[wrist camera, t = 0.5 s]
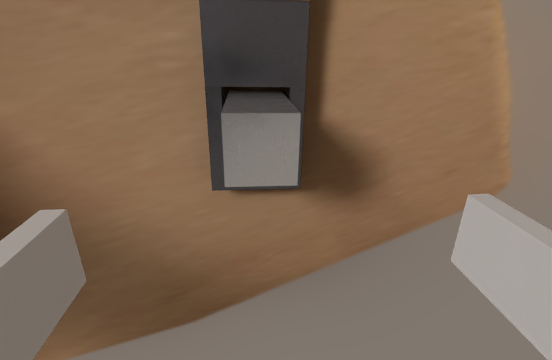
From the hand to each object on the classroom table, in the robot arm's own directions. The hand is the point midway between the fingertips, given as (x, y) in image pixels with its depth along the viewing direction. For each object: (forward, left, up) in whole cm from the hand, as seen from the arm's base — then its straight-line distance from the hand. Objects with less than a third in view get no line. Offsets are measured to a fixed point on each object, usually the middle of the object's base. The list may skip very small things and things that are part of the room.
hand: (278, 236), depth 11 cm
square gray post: (0, 0, -23) cm, 23 cm away
